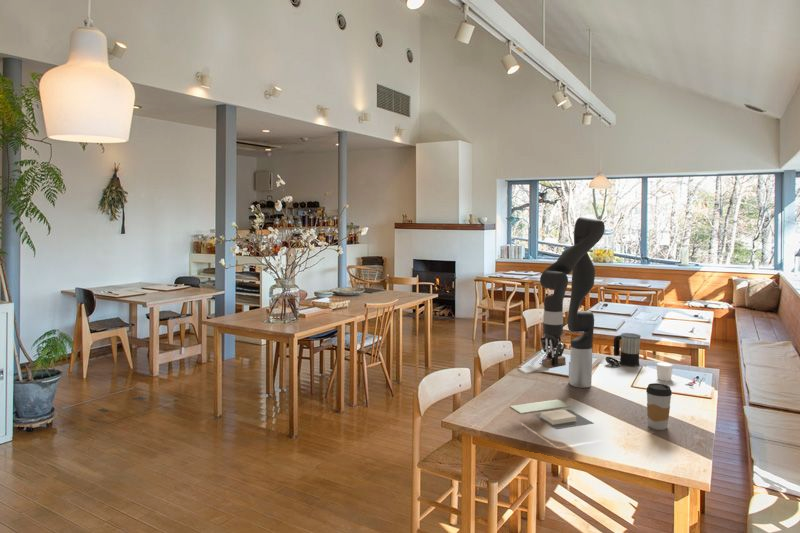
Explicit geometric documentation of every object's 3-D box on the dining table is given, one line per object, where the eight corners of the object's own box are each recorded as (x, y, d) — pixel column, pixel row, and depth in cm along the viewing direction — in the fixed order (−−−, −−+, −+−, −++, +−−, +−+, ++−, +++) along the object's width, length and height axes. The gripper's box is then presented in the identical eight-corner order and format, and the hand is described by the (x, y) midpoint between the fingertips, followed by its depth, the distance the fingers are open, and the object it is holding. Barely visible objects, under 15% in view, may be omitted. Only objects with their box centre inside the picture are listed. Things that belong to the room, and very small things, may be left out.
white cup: (675, 381, 259) (675, 366, 259) (659, 381, 259) (660, 366, 259) (668, 376, 266) (668, 361, 265) (653, 376, 266) (653, 361, 266)
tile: (563, 414, 218) (540, 417, 215) (563, 409, 218) (540, 412, 215) (576, 421, 211) (552, 425, 208) (576, 416, 211) (552, 419, 207)
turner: (559, 362, 231) (558, 354, 230) (568, 366, 225) (567, 358, 225) (517, 370, 225) (517, 362, 224) (526, 375, 219) (525, 366, 219)
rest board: (510, 408, 227) (510, 405, 227) (557, 401, 234) (557, 399, 234) (520, 415, 219) (520, 412, 219) (569, 408, 226) (569, 405, 226)
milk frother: (642, 363, 288) (643, 334, 286) (631, 370, 276) (632, 340, 274) (614, 358, 297) (615, 330, 295) (602, 365, 285) (603, 336, 284)
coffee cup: (673, 426, 207) (675, 386, 205) (665, 433, 201) (667, 391, 199) (649, 420, 213) (651, 381, 211) (641, 427, 207) (642, 386, 205)
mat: (533, 416, 218) (533, 414, 218) (569, 410, 223) (569, 409, 223) (556, 430, 204) (556, 429, 204) (594, 424, 209) (594, 423, 209)
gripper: (572, 324, 219) (571, 368, 221) (551, 317, 232) (550, 359, 234) (555, 326, 217) (554, 370, 218) (534, 319, 230) (534, 361, 232)
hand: (552, 364), depth 226 cm, fingers closed on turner, 2 cm apart
